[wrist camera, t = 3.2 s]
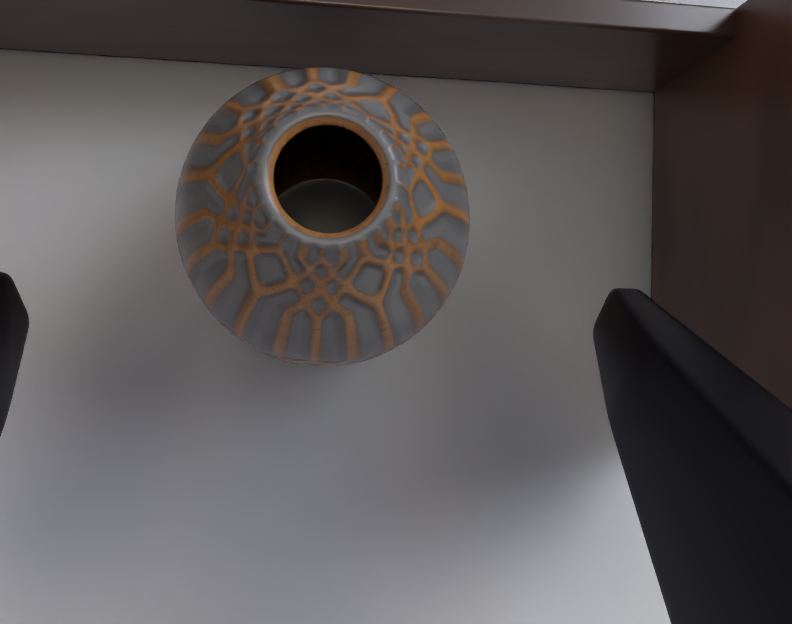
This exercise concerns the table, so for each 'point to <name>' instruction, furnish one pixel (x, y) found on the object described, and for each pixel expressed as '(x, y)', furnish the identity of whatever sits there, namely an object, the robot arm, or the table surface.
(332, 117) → the vase
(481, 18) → the wooden bookend shelf
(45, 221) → the table surface
